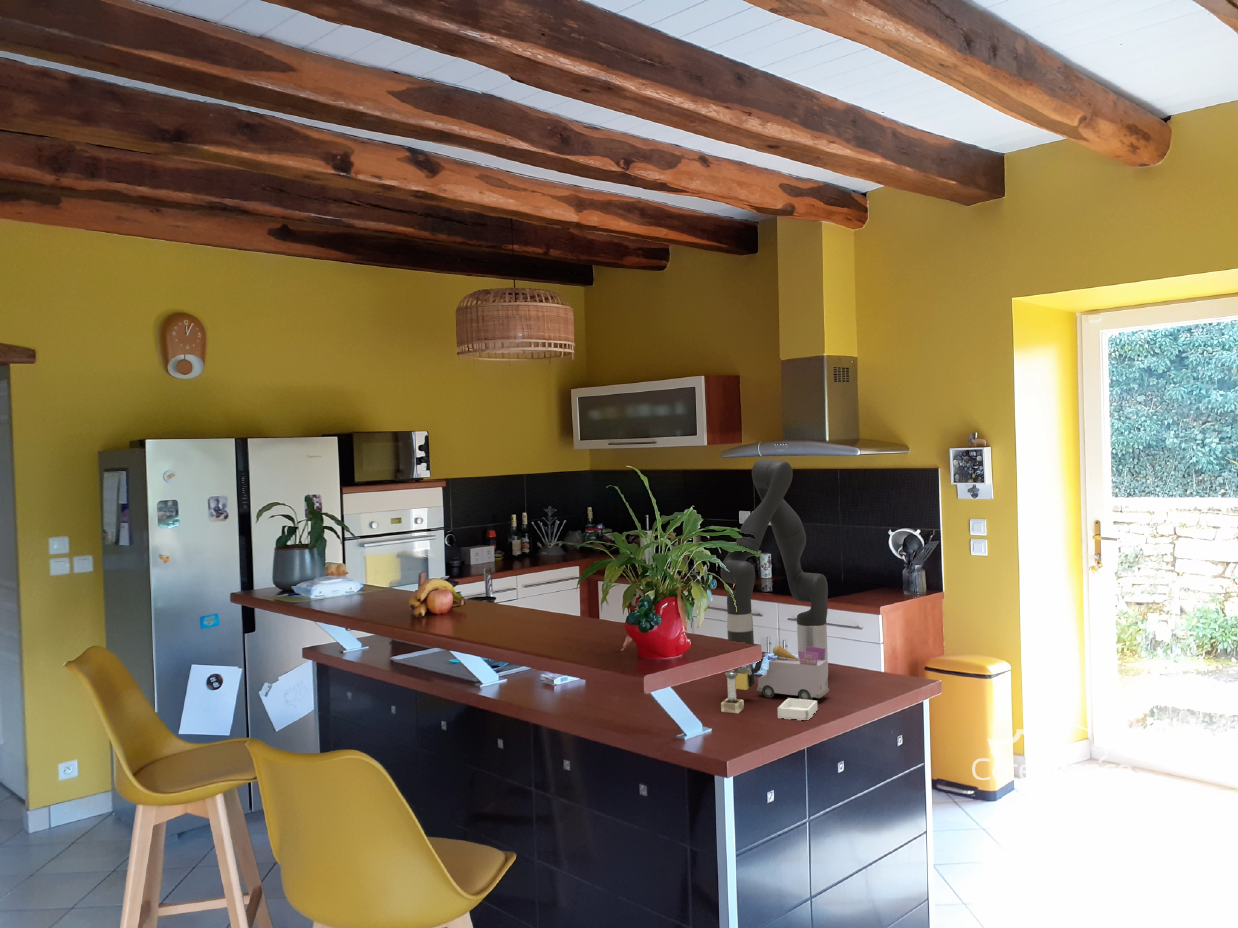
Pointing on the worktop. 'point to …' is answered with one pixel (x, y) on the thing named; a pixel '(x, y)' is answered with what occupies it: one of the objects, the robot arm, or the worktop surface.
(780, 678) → the toy vehicle
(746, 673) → the block
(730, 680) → the pin
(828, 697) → the worktop surface
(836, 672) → the worktop surface
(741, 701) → the holder
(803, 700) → the tray
